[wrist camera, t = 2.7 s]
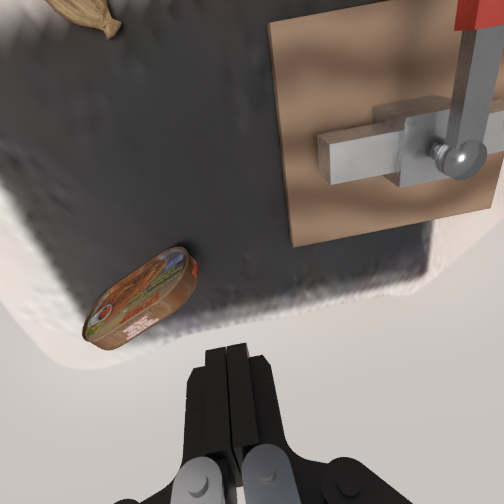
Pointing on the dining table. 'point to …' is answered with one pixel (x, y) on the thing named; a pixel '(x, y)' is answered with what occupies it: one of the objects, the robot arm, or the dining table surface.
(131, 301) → the tin
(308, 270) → the dining table surface
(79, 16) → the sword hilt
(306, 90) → the walnut board
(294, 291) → the dining table surface
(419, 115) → the steel pipe and valve
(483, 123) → the lever
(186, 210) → the dining table surface
